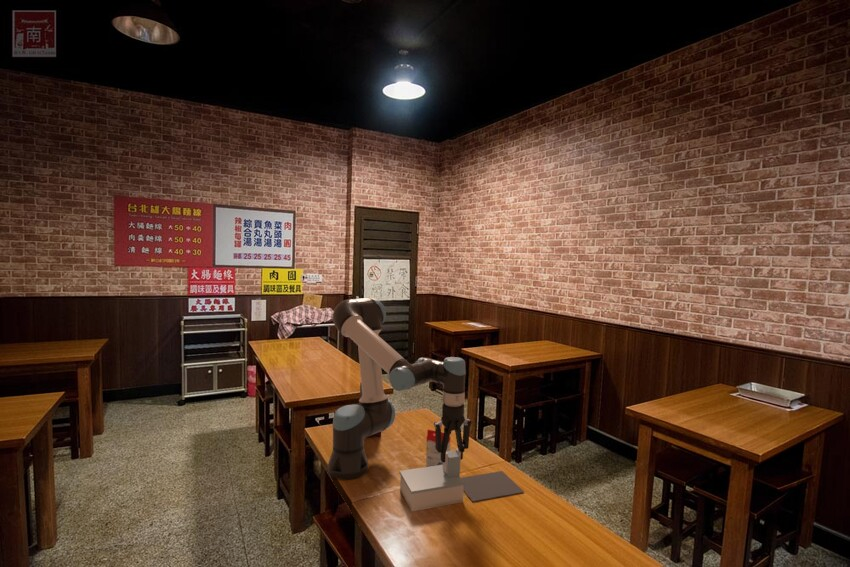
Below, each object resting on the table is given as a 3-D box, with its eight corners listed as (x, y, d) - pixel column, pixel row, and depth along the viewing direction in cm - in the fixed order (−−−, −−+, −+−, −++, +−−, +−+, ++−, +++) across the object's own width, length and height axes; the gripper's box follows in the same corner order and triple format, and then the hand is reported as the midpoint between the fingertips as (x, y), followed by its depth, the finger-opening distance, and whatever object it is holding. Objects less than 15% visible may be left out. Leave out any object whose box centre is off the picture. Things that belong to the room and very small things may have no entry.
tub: (411, 511, 133) (412, 493, 133) (400, 490, 145) (400, 473, 145) (462, 502, 139) (463, 484, 139) (447, 482, 151) (448, 466, 151)
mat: (472, 502, 139) (472, 501, 139) (454, 479, 153) (454, 478, 153) (524, 492, 146) (524, 491, 146) (502, 472, 160) (502, 470, 160)
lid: (411, 498, 133) (412, 470, 132) (399, 477, 145) (400, 451, 145) (464, 489, 139) (465, 462, 138) (448, 469, 152) (449, 444, 151)
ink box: (450, 465, 164) (451, 429, 163) (445, 471, 159) (446, 433, 159) (430, 460, 168) (431, 425, 167) (425, 466, 163) (426, 429, 162)
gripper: (434, 409, 137) (432, 478, 138) (480, 404, 142) (478, 471, 144) (426, 401, 144) (424, 468, 145) (471, 397, 149) (468, 461, 151)
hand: (451, 469), depth 144 cm, fingers closed on lid, 4 cm apart
